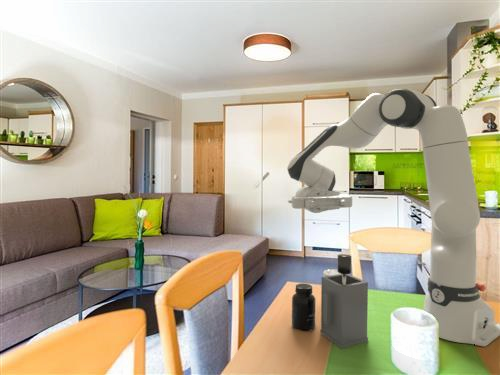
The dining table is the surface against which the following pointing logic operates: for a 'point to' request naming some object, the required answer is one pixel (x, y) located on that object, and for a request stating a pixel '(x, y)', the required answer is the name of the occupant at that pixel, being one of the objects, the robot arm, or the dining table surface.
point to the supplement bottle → (303, 308)
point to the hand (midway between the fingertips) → (328, 204)
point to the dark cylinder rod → (344, 266)
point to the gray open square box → (344, 310)
